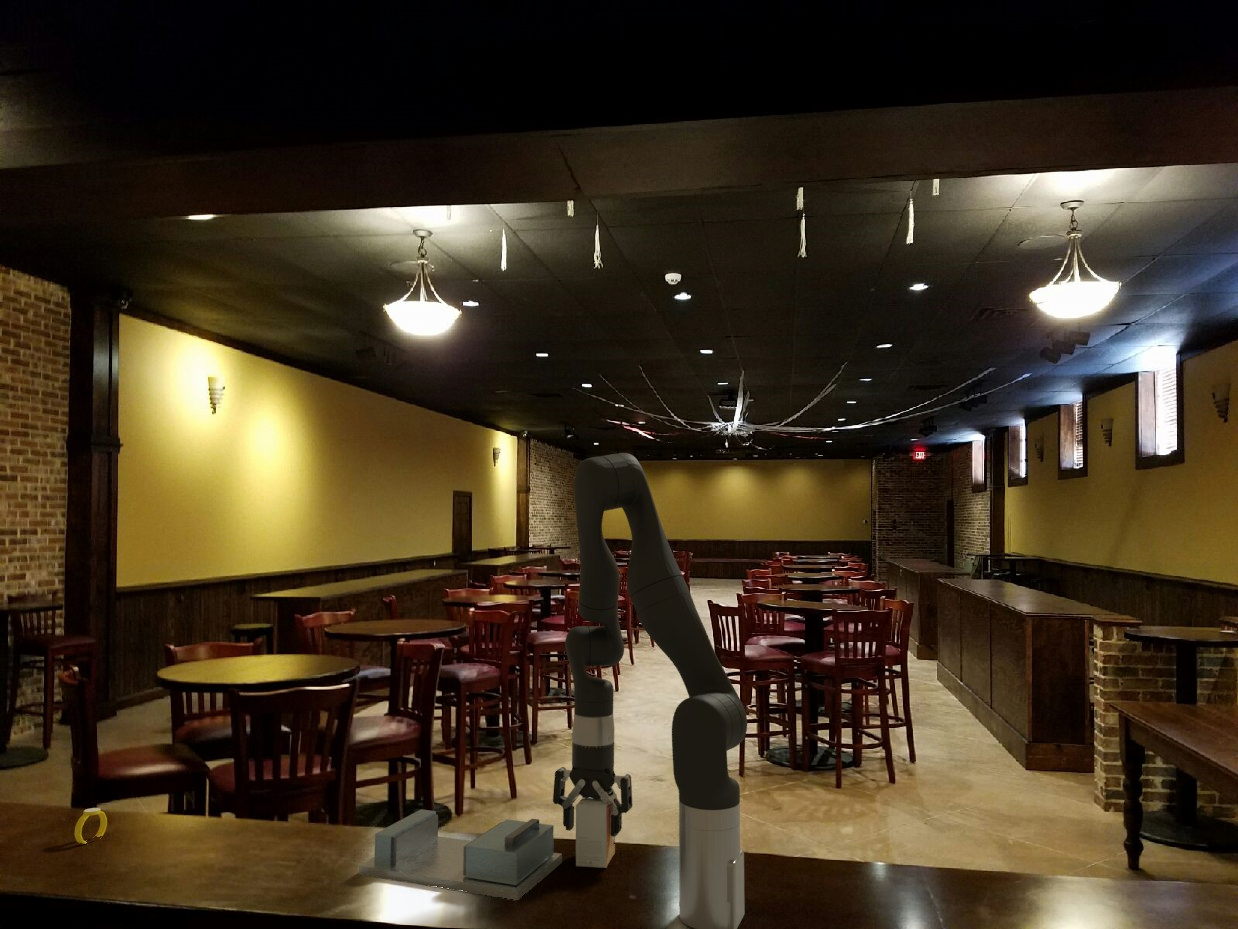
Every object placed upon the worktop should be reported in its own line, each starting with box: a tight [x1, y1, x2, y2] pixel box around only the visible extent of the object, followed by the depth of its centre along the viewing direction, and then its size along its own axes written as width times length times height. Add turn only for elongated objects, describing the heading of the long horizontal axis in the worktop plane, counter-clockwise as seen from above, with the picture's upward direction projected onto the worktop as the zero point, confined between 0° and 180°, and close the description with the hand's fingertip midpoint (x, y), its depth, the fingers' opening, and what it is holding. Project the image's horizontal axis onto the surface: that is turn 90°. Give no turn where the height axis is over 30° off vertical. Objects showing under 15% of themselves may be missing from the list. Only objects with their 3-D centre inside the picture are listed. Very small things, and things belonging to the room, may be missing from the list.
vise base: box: [358, 809, 563, 901], centre depth 151 cm, size 30×17×6 cm, turn 69°
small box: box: [575, 797, 616, 869], centre depth 156 cm, size 8×6×10 cm
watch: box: [74, 807, 108, 845], centre depth 164 cm, size 6×3×6 cm, turn 164°
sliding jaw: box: [463, 818, 554, 885], centre depth 148 cm, size 10×14×6 cm
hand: (591, 832), depth 156 cm, fingers open, 8 cm apart
